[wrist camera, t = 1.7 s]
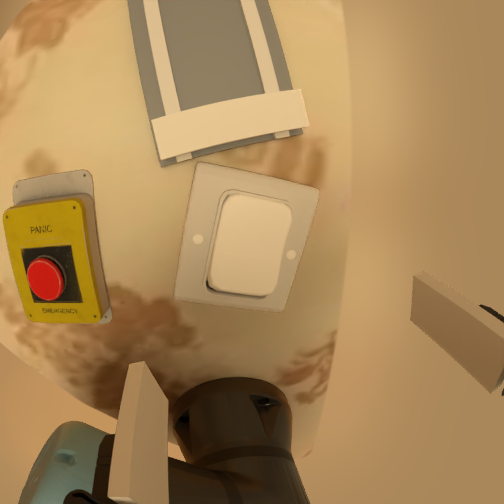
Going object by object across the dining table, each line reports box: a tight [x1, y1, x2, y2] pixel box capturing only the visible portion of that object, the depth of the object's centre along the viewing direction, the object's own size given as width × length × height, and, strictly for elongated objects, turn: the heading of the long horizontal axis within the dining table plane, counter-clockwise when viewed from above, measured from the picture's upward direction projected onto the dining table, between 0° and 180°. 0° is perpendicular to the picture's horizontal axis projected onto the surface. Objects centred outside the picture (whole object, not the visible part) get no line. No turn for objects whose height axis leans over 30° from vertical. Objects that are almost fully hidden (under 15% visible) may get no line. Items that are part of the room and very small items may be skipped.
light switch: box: [174, 162, 319, 312], centre depth 25 cm, size 11×4×13 cm
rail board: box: [128, 0, 309, 167], centre depth 16 cm, size 27×12×4 cm, turn 13°
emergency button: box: [3, 170, 112, 324], centre depth 21 cm, size 9×4×15 cm
